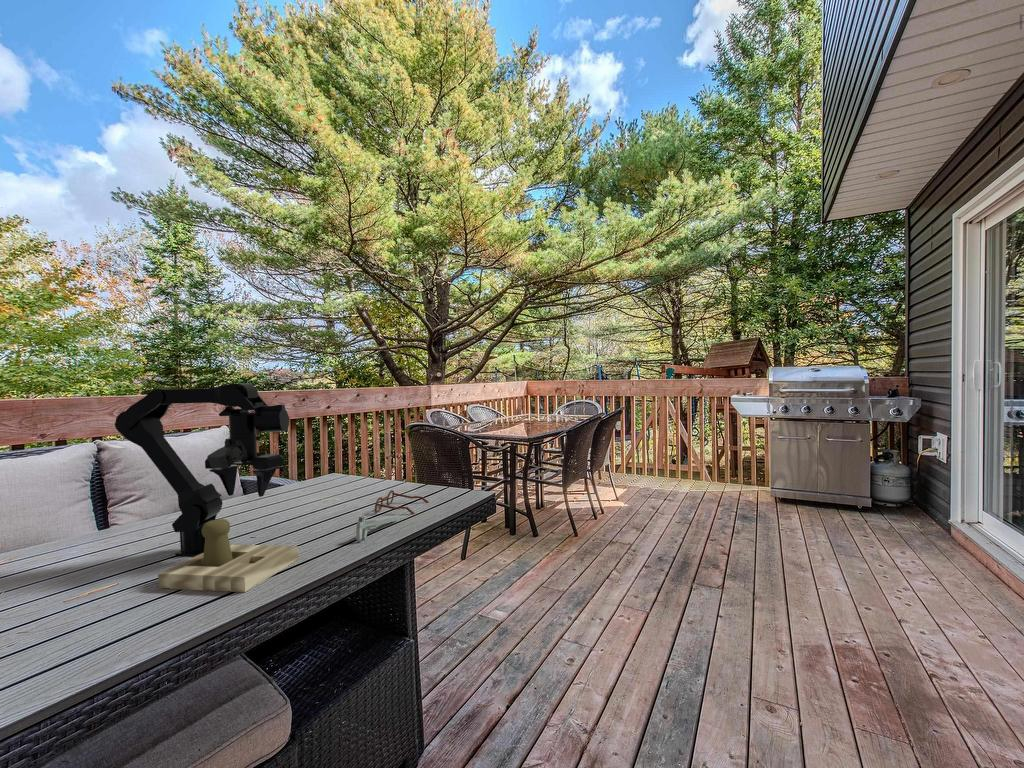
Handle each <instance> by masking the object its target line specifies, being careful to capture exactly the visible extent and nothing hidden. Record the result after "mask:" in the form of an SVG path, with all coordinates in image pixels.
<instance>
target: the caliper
mask: <svg viewBox="0 0 1024 768" xmlns="http://www.w3.org/2000/svg"><path fill="white" fill-rule="evenodd" d="M402 518H403V516H401V514H395V515H391V516H387V517H382V518H370V519H366V516H358V521H357V522H356V528H355V529H356V530H355V535H356V536H355V537H356V542H357V543H362V541H366V540H367V536H368V531H372V530H376V527H377V526H380V525H385V524H389V523H394V522H398V521H400V520H401V519H402ZM399 519H400V520H399ZM397 520H398V521H397ZM365 539H366V540H365Z"/></svg>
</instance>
